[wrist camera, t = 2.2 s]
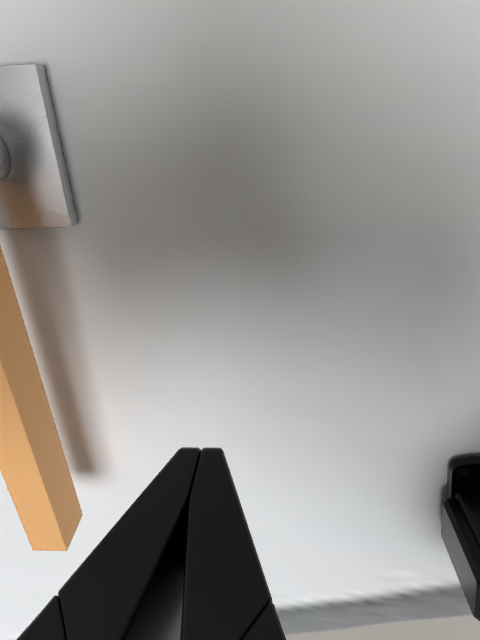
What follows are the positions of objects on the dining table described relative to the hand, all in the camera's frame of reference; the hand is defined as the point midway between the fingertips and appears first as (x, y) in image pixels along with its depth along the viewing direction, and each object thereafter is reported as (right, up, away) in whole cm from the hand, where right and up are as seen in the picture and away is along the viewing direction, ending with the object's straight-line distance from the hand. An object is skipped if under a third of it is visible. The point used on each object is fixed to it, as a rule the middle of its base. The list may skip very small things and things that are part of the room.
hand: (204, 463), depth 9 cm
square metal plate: (-8, +9, +6) cm, 13 cm away
